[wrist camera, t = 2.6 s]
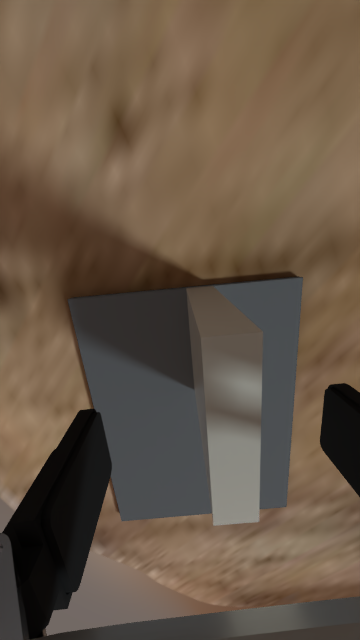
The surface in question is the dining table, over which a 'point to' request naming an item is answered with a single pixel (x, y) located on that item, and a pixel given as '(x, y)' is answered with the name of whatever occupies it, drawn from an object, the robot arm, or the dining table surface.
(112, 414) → the mat
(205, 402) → the white flat box
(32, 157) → the dining table surface
